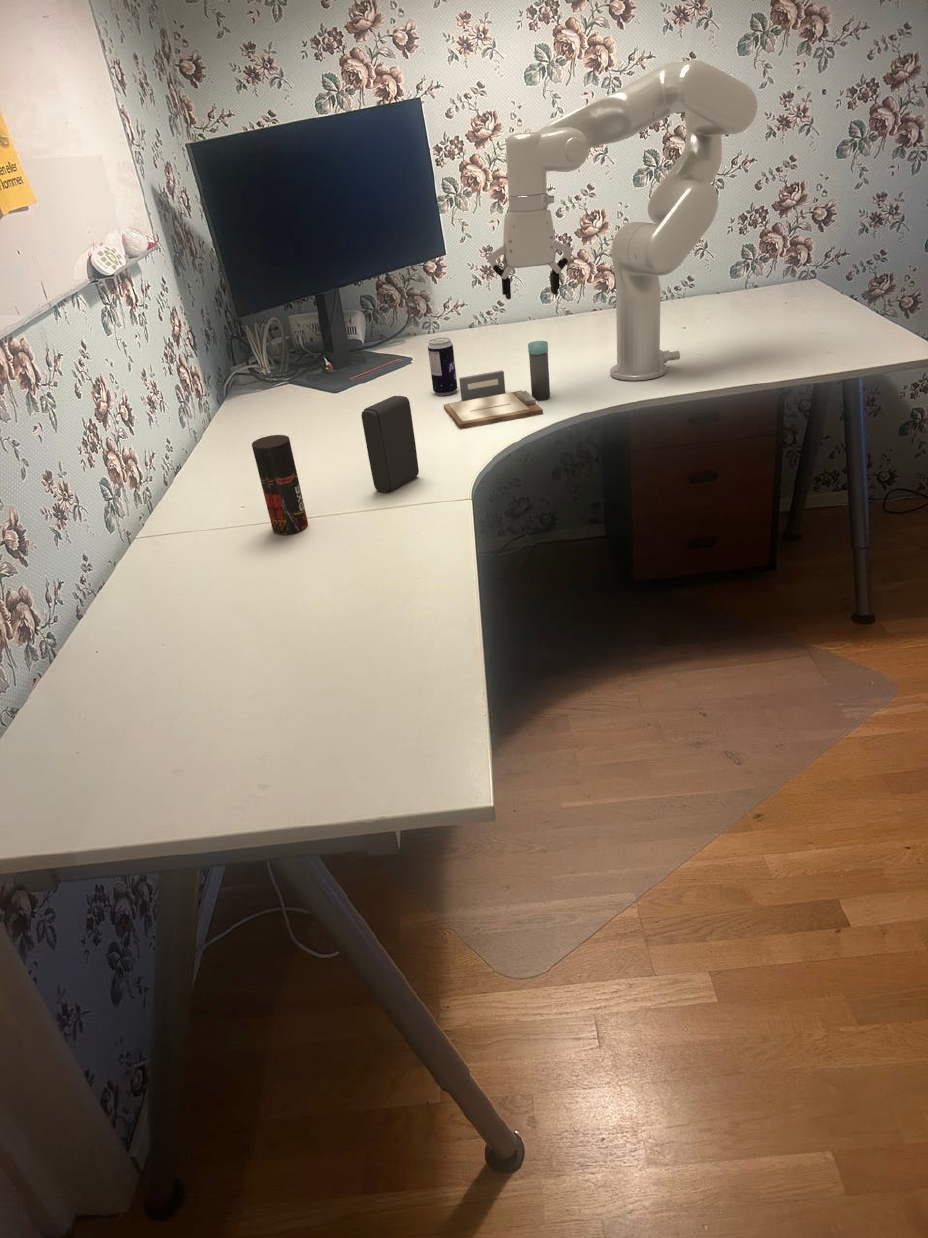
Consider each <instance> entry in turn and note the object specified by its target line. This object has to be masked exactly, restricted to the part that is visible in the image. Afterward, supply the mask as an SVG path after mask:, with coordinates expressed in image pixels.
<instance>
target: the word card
mask: <svg viewBox="0 0 928 1238" xmlns="http://www.w3.org/2000/svg"><path fill="white" fill-rule="evenodd" d="M458 379H459V389H460V396H461V397H460V398H461V400H460V401H466V400H471V399H477V398H482V397H488V396H493V395H499V394H505V393H506V383H505V372H504V370H497V371H490V372H486V373H481V374H480V373H479V374H474V375H468V376H462V377H459V378H458Z"/></svg>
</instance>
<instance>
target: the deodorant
mask: <svg viewBox="0 0 928 1238" xmlns="http://www.w3.org/2000/svg"><path fill="white" fill-rule="evenodd" d="M251 447H252V451H253V456H254V461H255V464H256V468H257V472H258V476H259V480H260V484H261V488H262V489H261V490H262V492H263V496H264V500H265V501H264V502H265V504H266V508H267V513H268V517H269V520H270V524H271V528H272V532H273V533H274V534H276V535H278V536H290V535H295V534H298V533H301V532H303V531H305V530H306V529H307V528H308V526H309V521H308V516H307V513H306V507H305V503H304V499H303V494H302V490H301V489H302V488H301V485H300V481H299V477H298V471H297V468H296V464H295V459H294V454H293V450H292V449H293V448H292V445H291V440H290V437H289V435H285V434H273V435H271V434H270V435H267V436H263V437H260V438H258V439H255V440H254V441H253V442H252V443H251Z"/></svg>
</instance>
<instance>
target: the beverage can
mask: <svg viewBox="0 0 928 1238" xmlns="http://www.w3.org/2000/svg"><path fill="white" fill-rule="evenodd" d="M427 351H428V353H427V354H428V361H429V369H430V376H431V382H432V391H433V392H434V393H435V394H436V395H438V396H440V395H441V396H442V397H443V395H446V396H450V394H451V395H454V394H455V392H456V390H458V381H457V370H456V369H457V368H456V361H455V353H454V344H453V343H452V341H451V338H449V337H437V338H433V339H430V340H429V341H428V346H427Z"/></svg>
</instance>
